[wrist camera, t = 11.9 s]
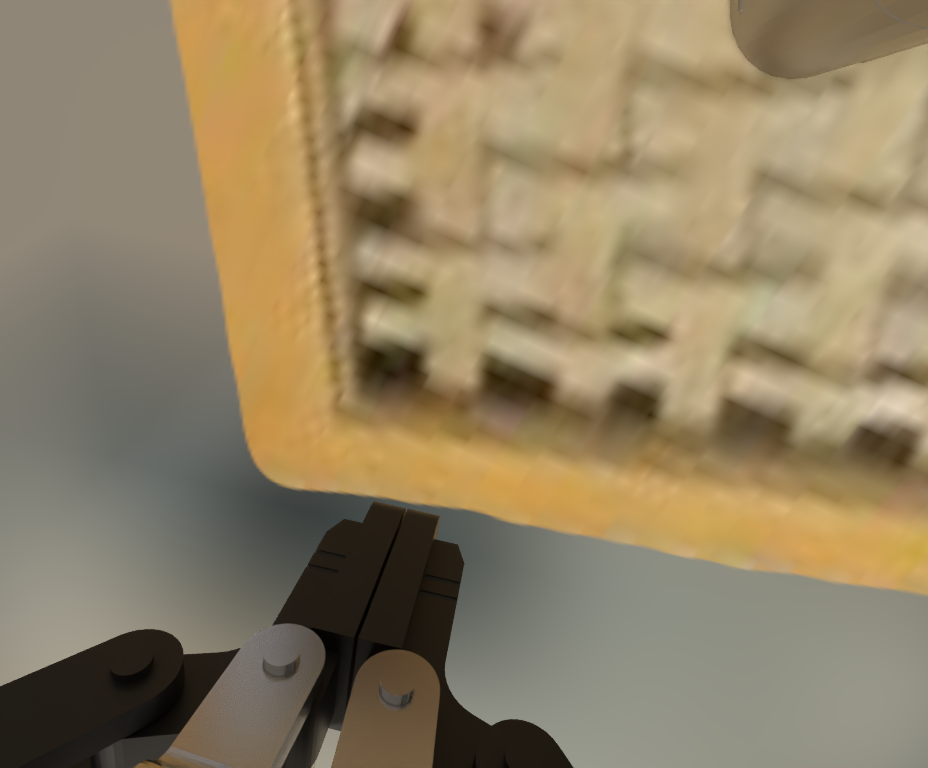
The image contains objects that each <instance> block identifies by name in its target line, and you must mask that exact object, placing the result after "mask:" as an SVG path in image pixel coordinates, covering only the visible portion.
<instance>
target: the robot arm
mask: <svg viewBox="0 0 928 768" xmlns="http://www.w3.org/2000/svg"><path fill="white" fill-rule="evenodd" d="M730 20H731V25H732V31H733V35H734V37H735V40H736V42H737V44H738V47H739V49H740V50H741V51H742V53H743V54H744V55H745V57H746V58H747V60H748V61H749V62H751V63H752V64H753V65H754V66H756V67H757V68H758V69H759V70H761V71H763V72H766V73H768V74H770V75H772V76H776V77H782V78H788V79H794V78H807V77H810V76H814V75H817V74H821V73H824V72H828V71H831V70H834V69H838V68H841V67H845V66H848V65H852V64H855V63H858V62H859V63H864V62H867V61H871V60H874V59H877V58H880V57H884V56H887V55H890V54H894V53H897V52H900V51H904V50H907V49H910V48H914V47H917V46H920V45H924V44H927V43H928V0H730ZM439 520H440V516H438V515H433V514H429V513H424V512H420V511H415V510H411V509H408V510H407V512H406V509H405V508H401V507H397V506H393V505H388V504H384V503H379V502H373V503H372V505H371V507H370V509H369V511H368V513H367V515H366V517H365V519H364V521H363V523H360V522H355V521H351V520H346V519H344V520H342V521H341V522H340V523H338V524H337V525H335V526H334V527H333V528H331V529H330V530H328V531H327V532H326V534H325V536H324V537H323V539H322V541H321V542H320V544H319V546H318V548H317V549H316V553H314V555H313V556H312V558H311V560H310V561H309V563H308V566H307V567H306V568H305V570H304V572H303V573H302V576H301V577H300V579H299V580H298V582H297V584H296V586H295V587H294V589H293V591H292V593H291V595H290V596H289V598H288V599H287V601H286V603H285V605H284V606H283V608H282V610H281V612H280V613H279V615H278V617H277V619H276V621H275V622H274V623H273V625H272V626H270V627H267V628H265V629H263V630H260V631H259V632H257V633H256V634H254V635H253V636H252V637H251V638H249V639H248V640H247V641H246V642H245V644H244V645H243V646H242V647H241V648H239V649H236V650H231V651H228V652H219V653H202V654H185V655H184V654H183V648H182V646H181V643H180V642H179V641H178V639H176V638H175V637H174V636H173V635H171V634H169V633H167V632H164V631H161V630H154V629H145V630H136V631H132V632H128V633H125V634H123V635H120V636H117V637H115V638H113V639H110V640H108V641H106V642H103V643H101V644H99V645H96V646H94V647H91V648H89V649H87V650H84V651H82V652H80V653H77V654H75V655H73V656H70V657H68V658H66V659H64V660H61V661H59V662H56V663H54V664H52V665H49V666H47V667H45V668H42V669H40V670H38V671H35V672H33V673H31V674H28V675H26V676H24V677H21V678H19V679H17V680H14V681H12V682H10V683H7V684H5V685H3V686H0V768H314V766H315V760H316V759H317V756H318V754H319V751H320V749H321V746H322V743H323V741H324V738H325V735H326V733H327V730H328V728H330V729H335V730H339V731H341V733H340V737H339V741H338V744H337V748H336V752H335V755H334V759H333V763H332V766H331V768H573V767H572V765H571V763H570V762H569V761H568V759H567V758H566V756H565V755H564V753H563V752H562V750H561V749H560V747H559V746H558V744H557V743H556V742H555V741H554V739H553V738H552V737H551V736H550V735H549V734H548V733H547V732H545V731H544V730H542V729H541V728H539V727H538V726H536V725H534V724H532V723H530V722H527V721H523V720H518V719H514V720H513V719H510V720H503V721H500V722H498V723H496V724H494V725H492V726H491V725H489V724H487V723H486V722H484V721H482V720H481V719H479V718H478V717H476V716H474V715H473V714H471V713H470V712H468V711H467V710H466V709H464V708H463V707H462V706H461V705H460V704H459V703H458V702H457V700H456V699H455V698H454V696H453V695H452V693H451V691H450V690H449V687H448V685H447V682H446V678H445V660H446V656H447V651H448V645H449V640H450V635H451V630H452V624H453V619H454V614H455V609H456V603H457V598H458V593H459V588H460V582H461V577H462V572H463V566H464V561H463V558H462V555H461V552H460V550H459V547H458V545H457V544H453V543H448V542H444V541H440V540H436V536H437V531H438V525H439Z"/></svg>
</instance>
